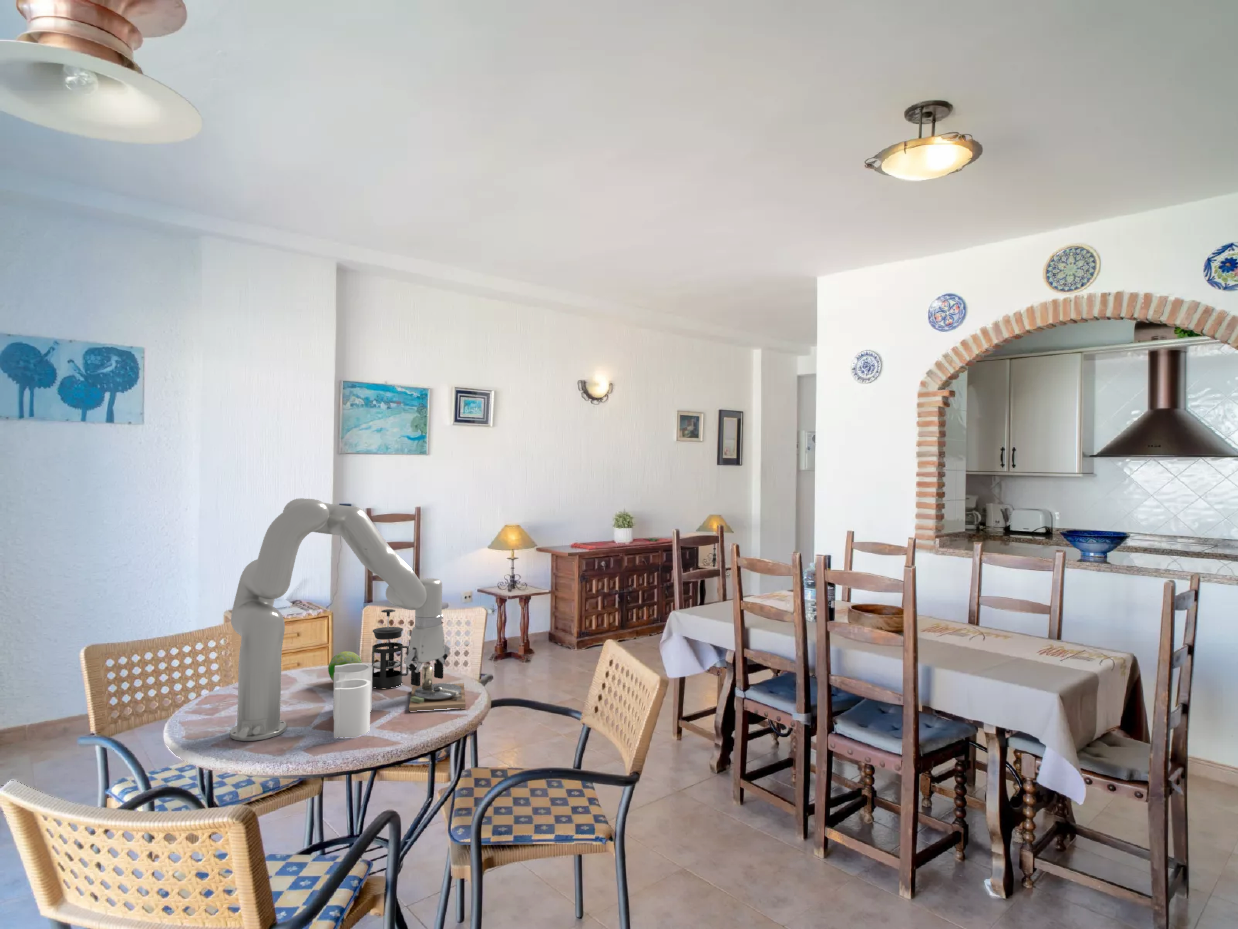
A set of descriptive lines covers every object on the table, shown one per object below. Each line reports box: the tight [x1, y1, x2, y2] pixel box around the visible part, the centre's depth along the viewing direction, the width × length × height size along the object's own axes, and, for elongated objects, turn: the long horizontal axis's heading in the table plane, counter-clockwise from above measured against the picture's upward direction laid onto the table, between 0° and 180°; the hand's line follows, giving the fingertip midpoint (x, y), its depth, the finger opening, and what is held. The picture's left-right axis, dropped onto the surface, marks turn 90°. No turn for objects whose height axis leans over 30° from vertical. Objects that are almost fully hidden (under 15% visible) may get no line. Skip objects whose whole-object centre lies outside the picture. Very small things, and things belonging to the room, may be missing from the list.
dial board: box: [408, 682, 467, 712], centre depth 202 cm, size 20×15×2 cm
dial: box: [415, 664, 461, 701], centre depth 202 cm, size 14×13×7 cm
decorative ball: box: [327, 651, 363, 682], centre depth 216 cm, size 10×10×10 cm
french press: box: [371, 608, 410, 689], centre depth 217 cm, size 12×9×23 cm
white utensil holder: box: [332, 662, 373, 739], centre depth 184 cm, size 25×10×12 cm, turn 20°
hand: (427, 681), depth 205 cm, fingers open, 8 cm apart
